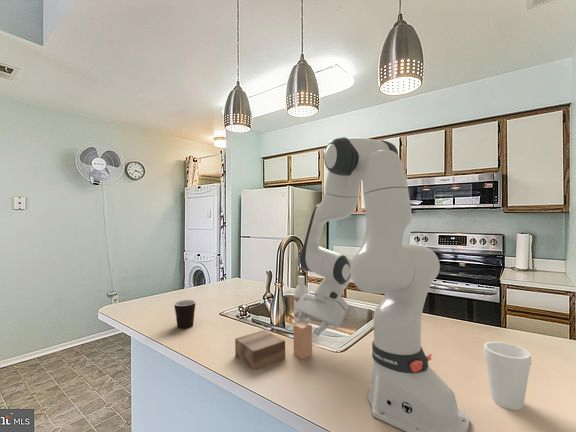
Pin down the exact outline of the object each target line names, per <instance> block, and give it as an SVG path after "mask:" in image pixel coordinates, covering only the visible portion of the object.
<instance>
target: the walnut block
mask: <svg viewBox="0 0 576 432" xmlns="http://www.w3.org/2000/svg"><path fill="white" fill-rule="evenodd" d="M234 341H235V342H234V343H235V346H234V347H235V351H234V352H235V353H234V354H235V357H236V358H238V359H239V360H240V361H241V362H243V363H245V365H247V366H248V367H250V368H251V369H252V370H253V371H254V370H255V371H256V370H258V369H260V368H263V367H265V366H268V365H271V364H274V363H276V362H278V361H281V360H285V359H286V340H285V339H283V338H281V337H279V336H277V335H276V334H273V333H271V332H270V331H267V330H266V329H264V330H259V331H257V332H253V333H250V334H246V335H243V336H240V337H237V338H235V339H234Z"/></svg>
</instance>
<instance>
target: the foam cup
mask: <svg viewBox="0 0 576 432" xmlns="http://www.w3.org/2000/svg"><path fill="white" fill-rule="evenodd" d="M483 354H484V358H485V362H486V369H487V376H488V381H489V382H488V383H489V387H490V388H489V389H490V394H491V400H492V401H493V402H494V403H495V404H496V405H498V406H500V407H502V408H505V409H507V410H511V411H512V410H513V411H519V410H522V409H523V408H524V405H525V399H526V392H527V386H528V380H529V375H530V367H531V366H532V354H531V352H530V351H529V350H527V349H525V347H522V346H519V345H516V344H512V343H508V342H503V341H495V340H494V341H487V342H485V343H483Z"/></svg>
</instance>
